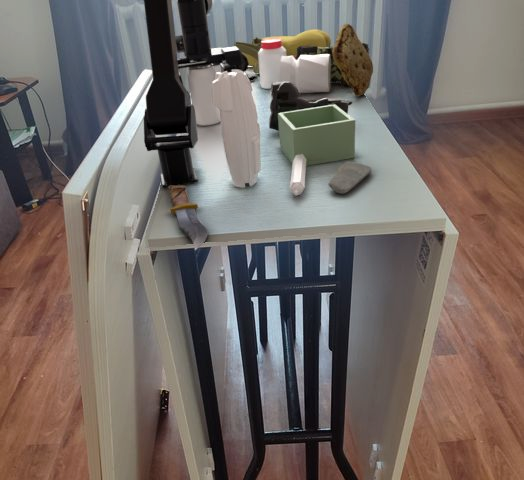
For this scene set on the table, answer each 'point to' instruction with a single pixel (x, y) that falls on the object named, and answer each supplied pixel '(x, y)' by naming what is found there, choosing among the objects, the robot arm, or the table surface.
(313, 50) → the toy car
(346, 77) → the pastry
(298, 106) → the cat figurine
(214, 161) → the table surface
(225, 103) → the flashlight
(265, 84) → the pill bottle
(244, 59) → the toy
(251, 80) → the pen
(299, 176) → the marker
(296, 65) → the vase
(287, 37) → the toy
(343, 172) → the stone
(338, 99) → the pen
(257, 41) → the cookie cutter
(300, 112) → the bin
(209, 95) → the can
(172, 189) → the knife
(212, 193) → the table surface
